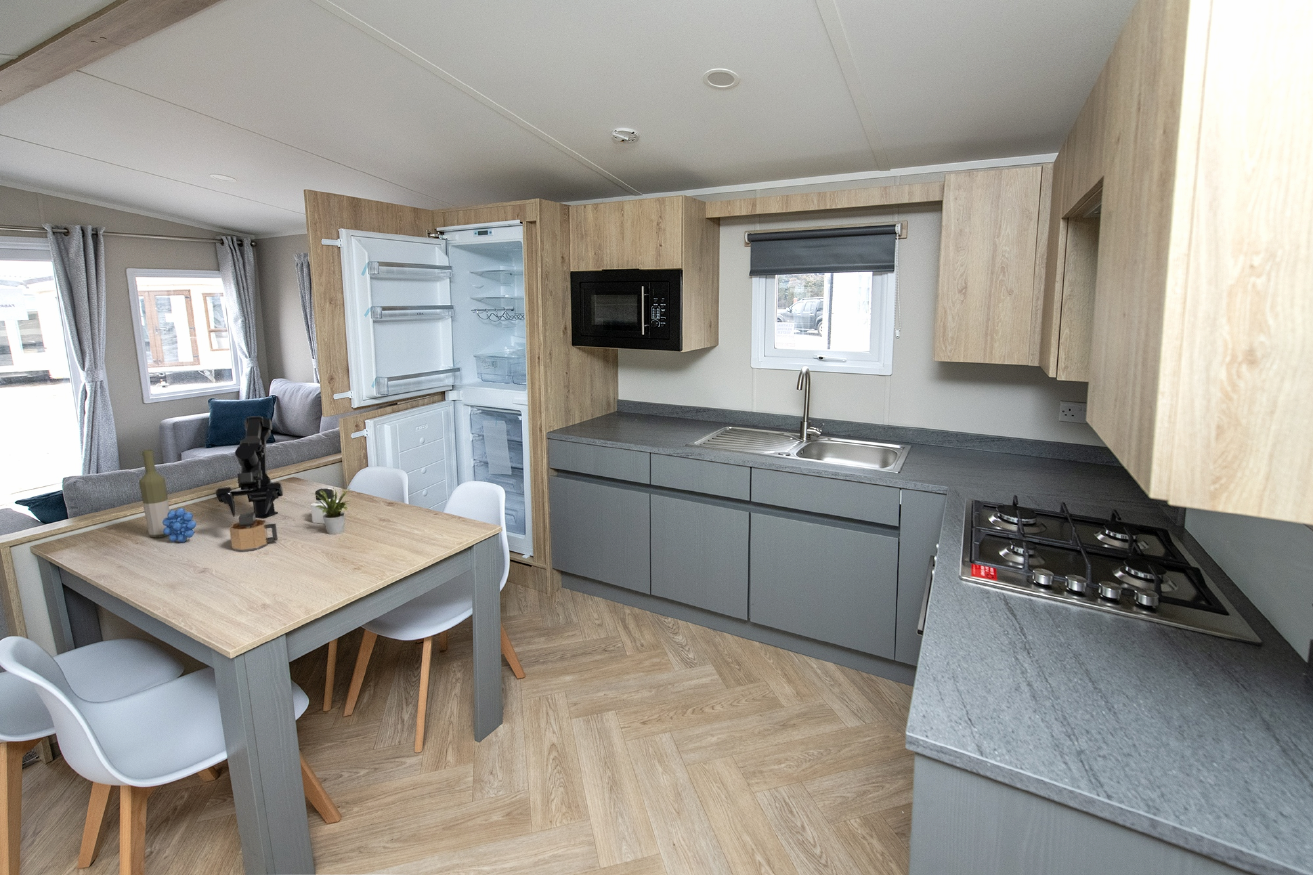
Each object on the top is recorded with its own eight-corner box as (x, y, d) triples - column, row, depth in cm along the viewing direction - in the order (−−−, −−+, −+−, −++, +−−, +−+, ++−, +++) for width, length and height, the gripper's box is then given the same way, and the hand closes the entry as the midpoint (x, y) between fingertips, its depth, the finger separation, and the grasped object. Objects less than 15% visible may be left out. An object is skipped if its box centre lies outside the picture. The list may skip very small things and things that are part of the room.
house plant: (304, 541, 217) (298, 495, 214) (313, 527, 230) (308, 483, 227) (350, 537, 221) (345, 491, 217) (357, 524, 234) (353, 480, 231)
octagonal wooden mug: (236, 543, 215) (233, 521, 214) (279, 537, 220) (277, 516, 219) (230, 553, 207) (227, 531, 205) (276, 547, 212) (273, 525, 210)
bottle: (178, 533, 224) (164, 449, 218) (155, 540, 218) (141, 453, 212) (166, 530, 227) (152, 447, 221) (143, 537, 221) (129, 451, 214)
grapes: (208, 538, 220) (203, 504, 217) (192, 545, 213) (187, 511, 211) (176, 537, 221) (170, 503, 218) (159, 544, 214) (154, 509, 212)
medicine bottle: (329, 524, 234) (326, 492, 231) (312, 523, 235) (308, 491, 233) (342, 518, 241) (339, 487, 238) (325, 516, 242) (322, 485, 240)
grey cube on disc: (238, 535, 214) (235, 513, 213) (263, 532, 217) (260, 510, 215) (234, 543, 208) (231, 520, 206) (260, 539, 211) (257, 517, 209)
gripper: (212, 465, 213) (210, 507, 206) (277, 459, 221) (277, 500, 213) (220, 481, 222) (219, 522, 215) (283, 475, 229) (283, 515, 222)
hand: (249, 514), depth 216 cm, fingers open, 9 cm apart
